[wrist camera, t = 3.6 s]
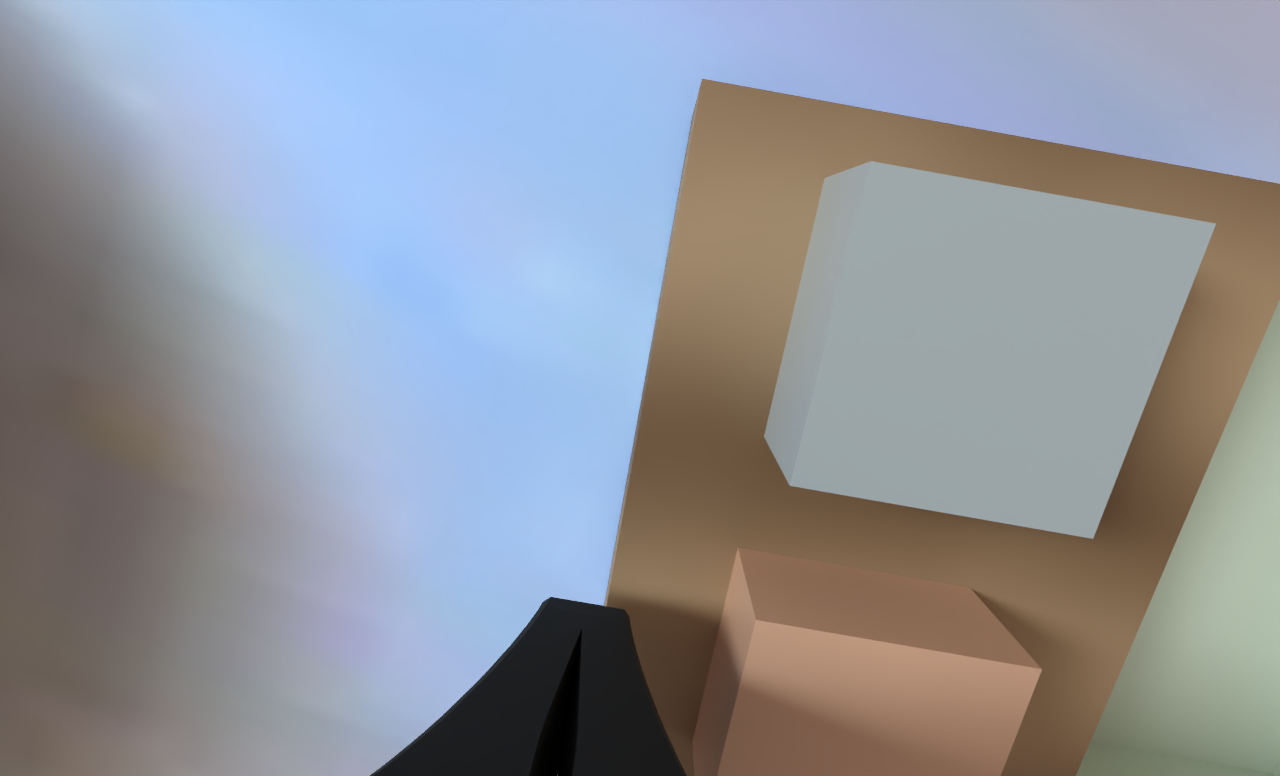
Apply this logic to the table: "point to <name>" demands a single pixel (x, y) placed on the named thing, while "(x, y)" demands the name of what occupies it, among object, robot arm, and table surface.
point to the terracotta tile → (857, 676)
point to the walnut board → (883, 532)
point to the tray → (1211, 616)
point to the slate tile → (976, 345)
